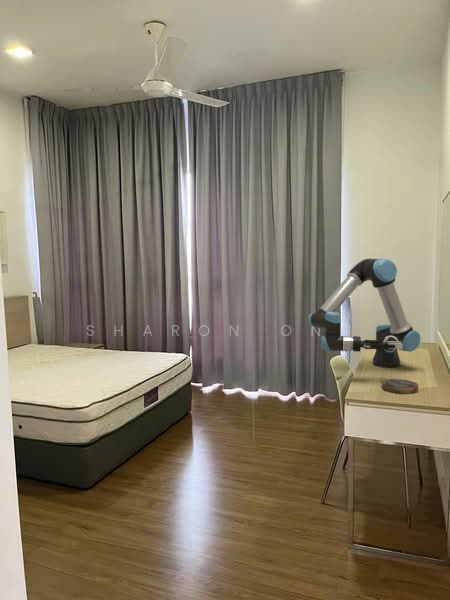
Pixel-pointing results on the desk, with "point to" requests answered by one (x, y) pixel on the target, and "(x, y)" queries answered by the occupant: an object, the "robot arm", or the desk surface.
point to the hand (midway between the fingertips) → (401, 345)
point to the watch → (388, 353)
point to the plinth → (400, 386)
